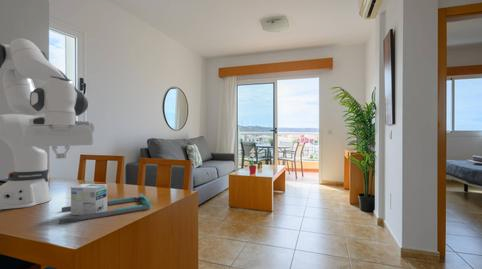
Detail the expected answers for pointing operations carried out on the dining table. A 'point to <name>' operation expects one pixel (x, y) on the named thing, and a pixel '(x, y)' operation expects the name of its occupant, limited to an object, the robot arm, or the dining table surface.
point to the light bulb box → (88, 199)
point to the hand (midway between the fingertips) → (61, 158)
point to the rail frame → (117, 211)
